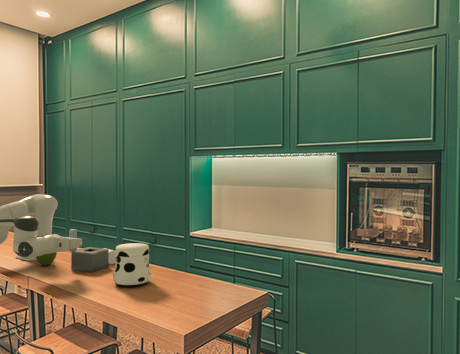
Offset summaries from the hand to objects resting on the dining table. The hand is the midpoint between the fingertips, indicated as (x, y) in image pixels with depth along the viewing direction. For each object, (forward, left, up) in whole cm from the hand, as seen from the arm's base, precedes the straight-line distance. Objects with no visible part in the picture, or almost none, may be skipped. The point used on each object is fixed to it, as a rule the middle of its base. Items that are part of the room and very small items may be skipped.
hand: (74, 239), depth 189 cm
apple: (-27, +7, -18) cm, 33 cm away
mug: (+1, +28, -18) cm, 33 cm away
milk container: (+38, -2, -18) cm, 42 cm away
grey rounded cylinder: (0, -1, -6) cm, 6 cm away
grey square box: (0, +12, -18) cm, 22 cm away
